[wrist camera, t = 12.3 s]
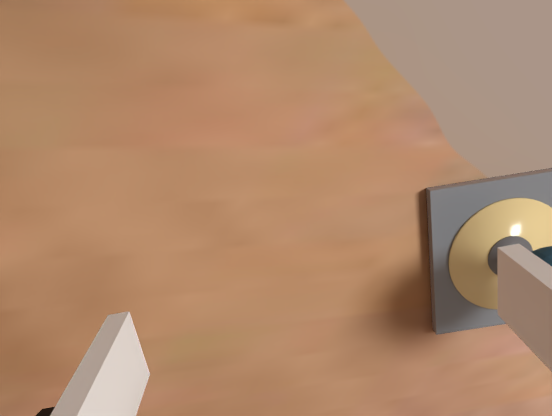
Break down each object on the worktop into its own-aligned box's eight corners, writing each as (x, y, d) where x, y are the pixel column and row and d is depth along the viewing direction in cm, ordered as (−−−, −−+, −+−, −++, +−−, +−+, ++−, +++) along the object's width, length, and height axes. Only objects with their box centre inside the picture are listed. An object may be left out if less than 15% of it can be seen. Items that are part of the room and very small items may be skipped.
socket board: (426, 188, 42) (432, 192, 40) (581, 163, 42) (592, 166, 40) (432, 329, 47) (438, 337, 45) (571, 307, 47) (581, 315, 45)
